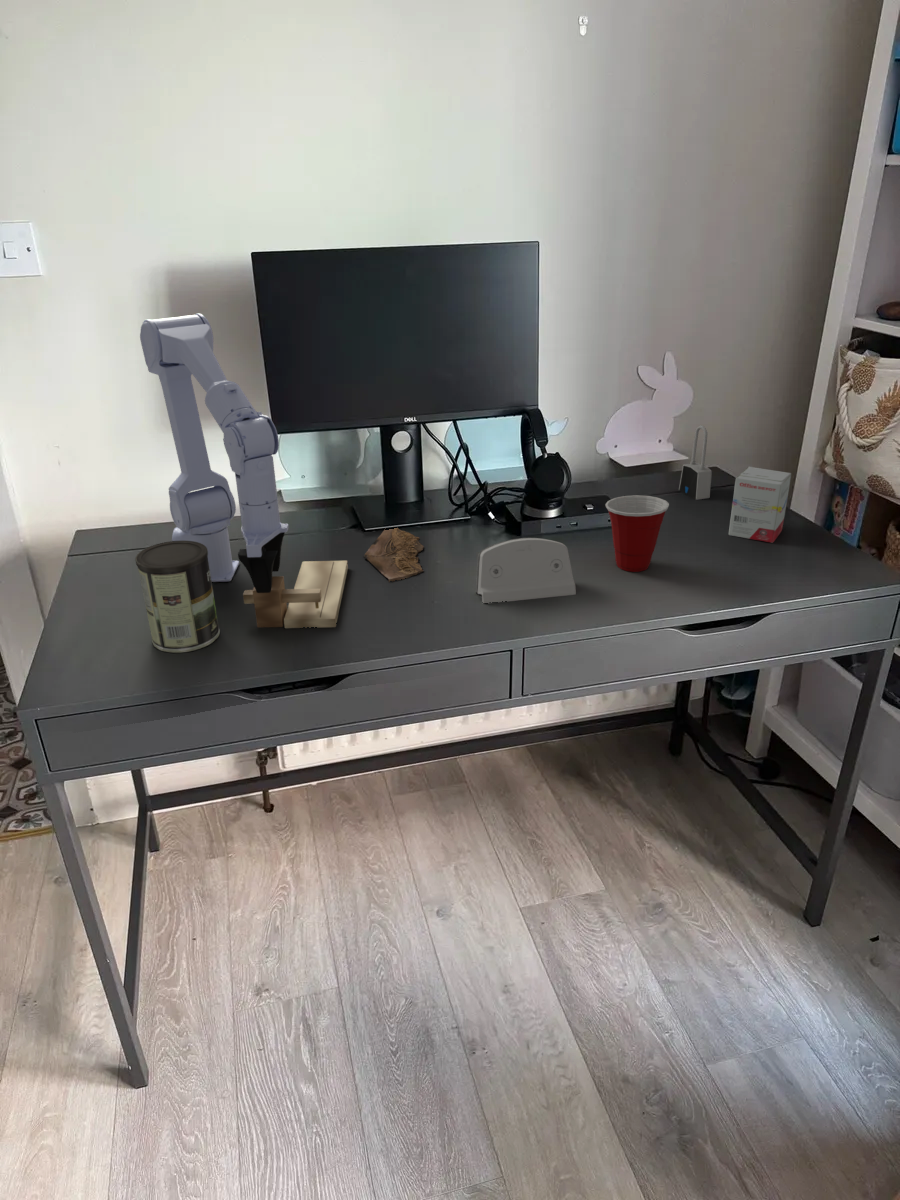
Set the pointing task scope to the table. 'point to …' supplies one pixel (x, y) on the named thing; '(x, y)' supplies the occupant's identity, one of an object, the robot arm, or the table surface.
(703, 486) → the padlock
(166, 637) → the coffee can
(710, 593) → the table surface
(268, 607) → the gauge
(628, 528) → the plastic cup
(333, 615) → the board
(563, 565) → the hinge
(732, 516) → the ink box
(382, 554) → the wooden fragment
